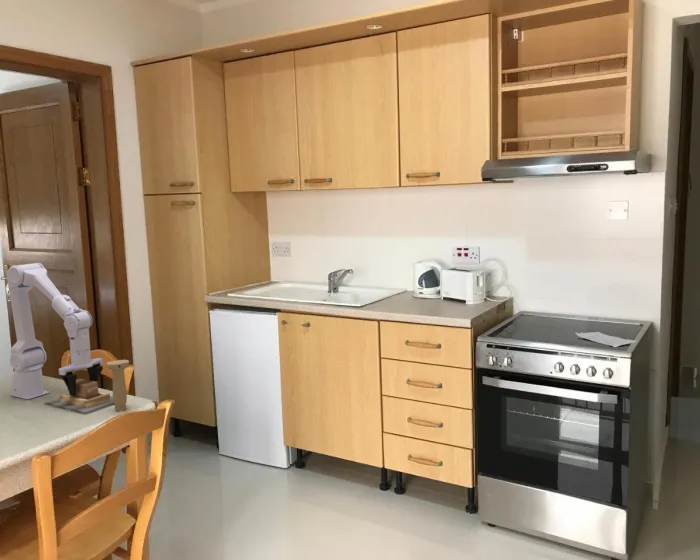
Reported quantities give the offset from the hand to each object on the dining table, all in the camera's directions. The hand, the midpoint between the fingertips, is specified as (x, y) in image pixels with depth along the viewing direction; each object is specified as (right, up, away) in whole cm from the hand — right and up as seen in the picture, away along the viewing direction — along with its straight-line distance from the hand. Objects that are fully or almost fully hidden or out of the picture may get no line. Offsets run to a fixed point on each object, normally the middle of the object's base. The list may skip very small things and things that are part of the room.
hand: (83, 391), depth 195 cm
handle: (+14, -5, -7) cm, 16 cm away
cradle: (0, -4, 0) cm, 4 cm away
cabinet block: (0, -3, 0) cm, 3 cm away
